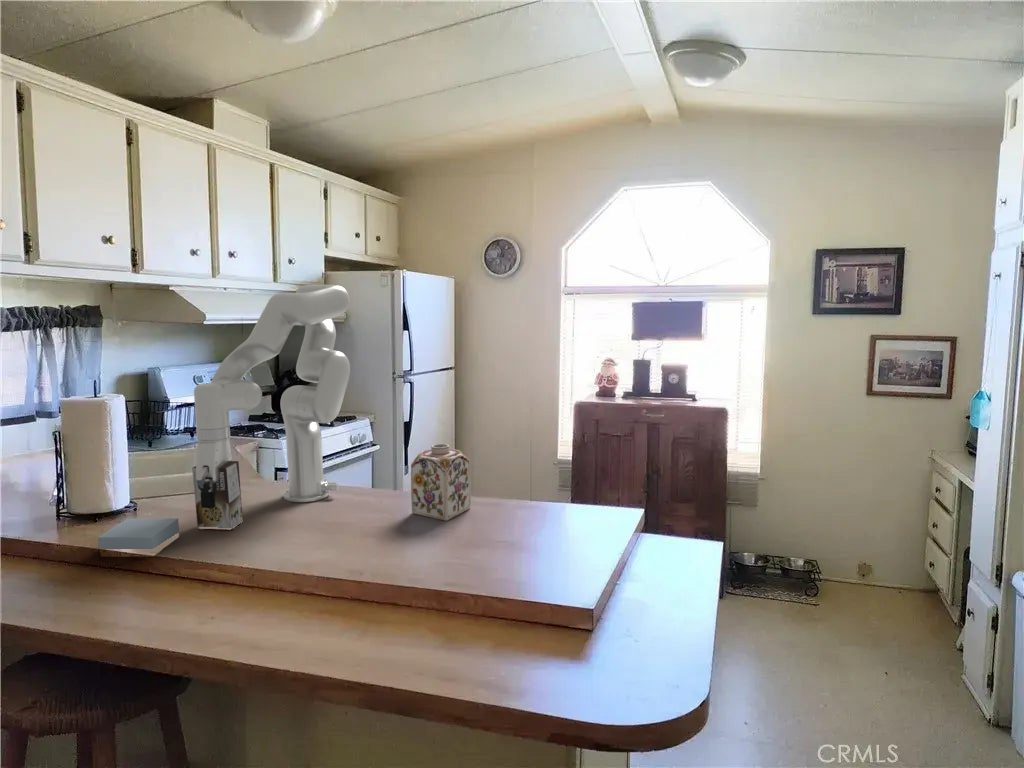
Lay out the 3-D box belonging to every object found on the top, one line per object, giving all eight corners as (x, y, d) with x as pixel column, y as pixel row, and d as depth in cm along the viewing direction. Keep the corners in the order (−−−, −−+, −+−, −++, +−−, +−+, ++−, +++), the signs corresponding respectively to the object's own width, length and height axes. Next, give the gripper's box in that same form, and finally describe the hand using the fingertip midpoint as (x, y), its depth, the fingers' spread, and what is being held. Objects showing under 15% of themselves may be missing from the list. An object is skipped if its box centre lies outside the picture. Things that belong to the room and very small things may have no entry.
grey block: (179, 538, 165) (178, 518, 164) (153, 558, 153) (151, 537, 152) (129, 538, 165) (127, 518, 164) (100, 558, 153) (97, 537, 152)
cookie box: (244, 522, 175) (240, 460, 172) (231, 531, 168) (227, 467, 166) (210, 520, 176) (205, 459, 173) (196, 530, 169) (191, 466, 167)
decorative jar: (446, 522, 174) (445, 453, 172) (410, 514, 180) (408, 447, 177) (472, 508, 185) (471, 443, 182) (437, 501, 190) (435, 438, 188)
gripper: (214, 426, 177) (218, 490, 179) (180, 441, 160) (185, 512, 162) (243, 426, 177) (246, 490, 179) (212, 442, 160) (216, 512, 162)
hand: (217, 501), depth 171 cm, fingers open, 9 cm apart
